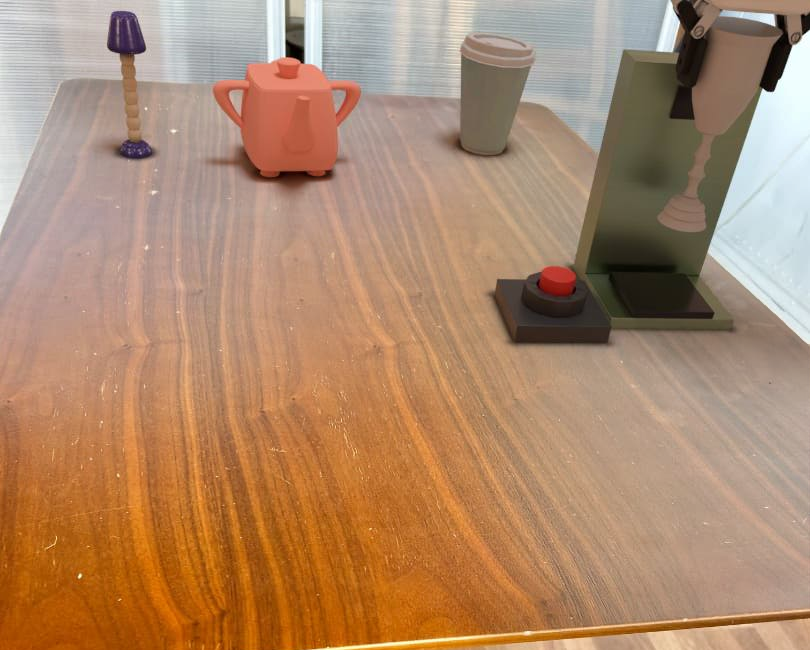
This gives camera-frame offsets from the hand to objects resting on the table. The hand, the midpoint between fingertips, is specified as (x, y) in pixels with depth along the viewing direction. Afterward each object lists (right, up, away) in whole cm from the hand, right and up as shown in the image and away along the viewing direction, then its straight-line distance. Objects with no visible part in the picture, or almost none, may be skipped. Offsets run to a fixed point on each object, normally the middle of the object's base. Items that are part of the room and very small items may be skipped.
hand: (725, 84), depth 82 cm
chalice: (-1, -10, +9) cm, 13 cm away
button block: (-15, -19, +12) cm, 27 cm away
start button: (-14, -16, +10) cm, 24 cm away
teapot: (-46, +7, +37) cm, 59 cm away
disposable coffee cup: (-18, +15, +49) cm, 54 cm away
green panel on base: (-2, -15, +18) cm, 24 cm away
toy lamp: (-66, +9, +36) cm, 75 cm away
